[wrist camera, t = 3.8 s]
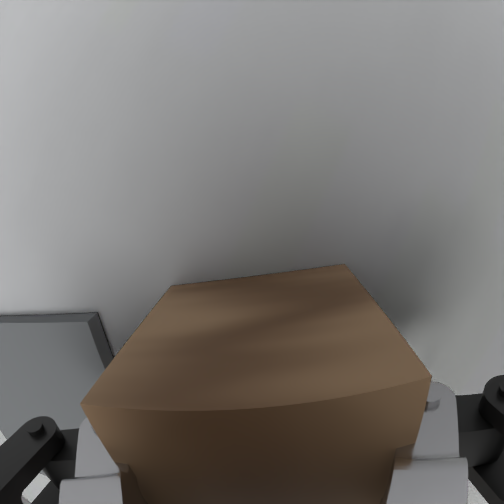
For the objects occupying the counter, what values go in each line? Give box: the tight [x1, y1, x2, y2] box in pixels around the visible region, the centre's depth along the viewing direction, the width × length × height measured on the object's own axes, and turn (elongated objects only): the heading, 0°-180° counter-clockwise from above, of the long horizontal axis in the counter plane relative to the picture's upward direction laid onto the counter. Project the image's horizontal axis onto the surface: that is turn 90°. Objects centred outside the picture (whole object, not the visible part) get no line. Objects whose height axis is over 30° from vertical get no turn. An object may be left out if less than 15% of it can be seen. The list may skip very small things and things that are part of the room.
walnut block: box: [80, 264, 432, 504], centre depth 8 cm, size 6×6×6 cm
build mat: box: [0, 313, 113, 476], centre depth 12 cm, size 12×12×1 cm
